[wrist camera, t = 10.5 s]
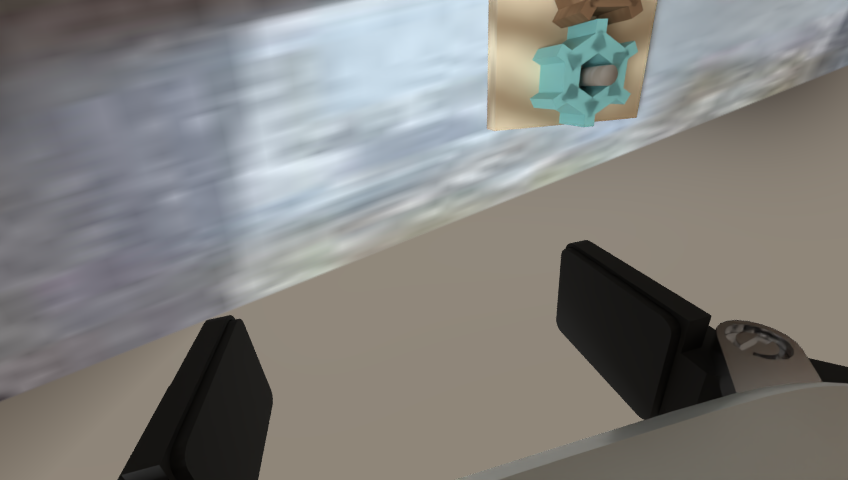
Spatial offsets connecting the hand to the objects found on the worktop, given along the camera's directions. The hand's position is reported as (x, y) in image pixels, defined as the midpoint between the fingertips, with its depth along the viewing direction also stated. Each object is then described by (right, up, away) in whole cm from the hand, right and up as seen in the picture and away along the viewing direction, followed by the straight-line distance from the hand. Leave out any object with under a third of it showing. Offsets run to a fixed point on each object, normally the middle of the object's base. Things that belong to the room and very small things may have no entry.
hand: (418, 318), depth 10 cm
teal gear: (+14, +18, +23) cm, 33 cm away
